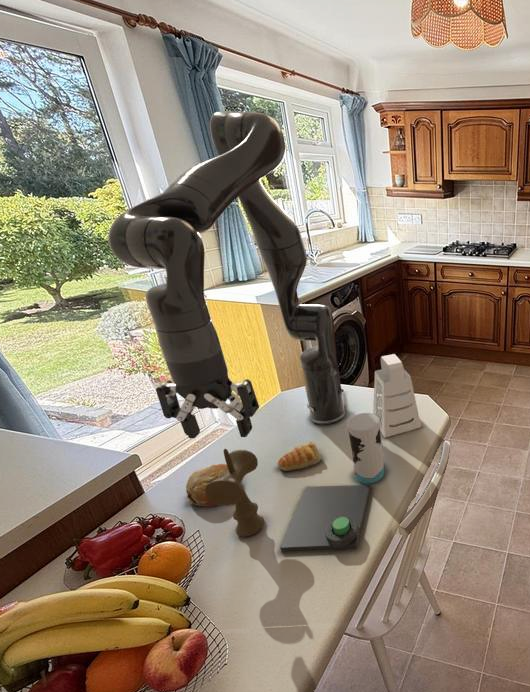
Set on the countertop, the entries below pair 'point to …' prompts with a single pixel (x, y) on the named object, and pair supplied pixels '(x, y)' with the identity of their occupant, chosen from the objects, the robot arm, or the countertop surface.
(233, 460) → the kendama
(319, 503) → the scale
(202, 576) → the countertop surface
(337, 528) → the tare button
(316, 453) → the pastry
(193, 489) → the bread roll
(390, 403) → the grater
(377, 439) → the cup
